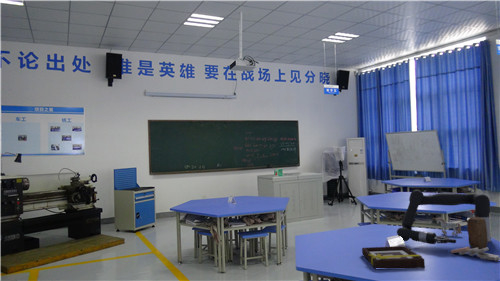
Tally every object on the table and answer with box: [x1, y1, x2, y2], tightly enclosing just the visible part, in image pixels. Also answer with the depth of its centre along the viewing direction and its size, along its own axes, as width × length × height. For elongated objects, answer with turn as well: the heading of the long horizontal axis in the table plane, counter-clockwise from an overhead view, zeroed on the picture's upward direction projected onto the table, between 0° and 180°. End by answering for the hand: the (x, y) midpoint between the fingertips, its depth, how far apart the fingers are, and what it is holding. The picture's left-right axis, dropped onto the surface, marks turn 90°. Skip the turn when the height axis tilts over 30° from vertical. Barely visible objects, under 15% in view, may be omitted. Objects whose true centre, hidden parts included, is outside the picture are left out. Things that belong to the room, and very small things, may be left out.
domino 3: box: [476, 252, 500, 261], centre depth 216 cm, size 2×5×10 cm
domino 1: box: [450, 246, 471, 254], centre depth 228 cm, size 2×5×10 cm
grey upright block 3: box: [468, 246, 490, 257], centre depth 220 cm, size 2×5×10 cm
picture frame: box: [361, 245, 426, 269], centre depth 221 cm, size 28×7×30 cm
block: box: [466, 216, 489, 250], centre depth 240 cm, size 11×8×20 cm
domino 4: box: [479, 257, 500, 262], centre depth 216 cm, size 2×5×10 cm
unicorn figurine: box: [432, 216, 463, 236], centre depth 276 cm, size 7×20×13 cm, turn 70°
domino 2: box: [458, 247, 480, 256], centre depth 224 cm, size 2×5×10 cm
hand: (455, 241), depth 230 cm, fingers closed
